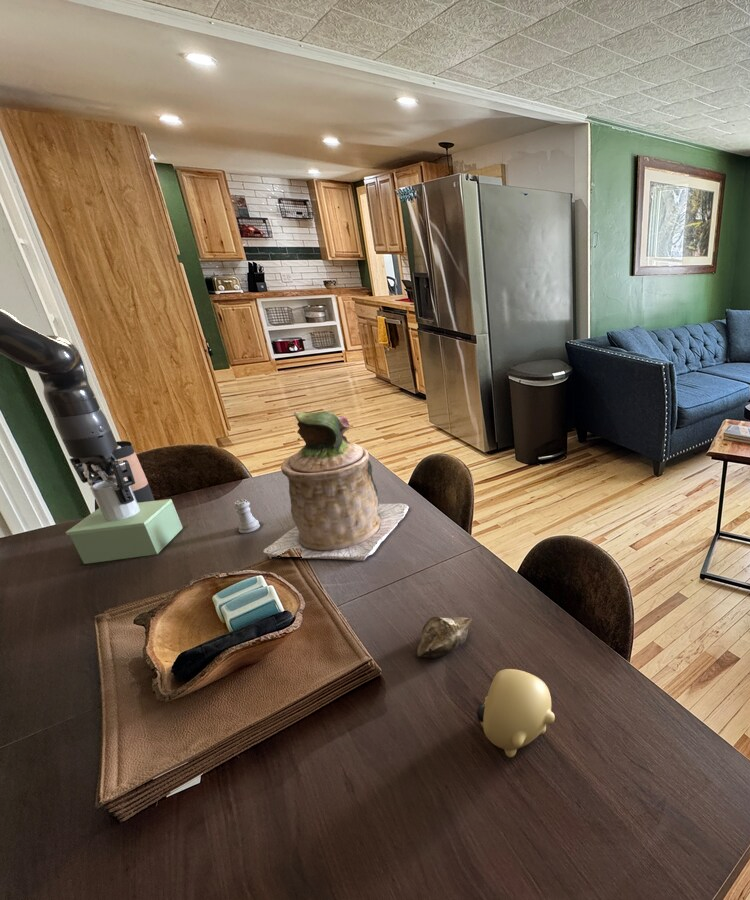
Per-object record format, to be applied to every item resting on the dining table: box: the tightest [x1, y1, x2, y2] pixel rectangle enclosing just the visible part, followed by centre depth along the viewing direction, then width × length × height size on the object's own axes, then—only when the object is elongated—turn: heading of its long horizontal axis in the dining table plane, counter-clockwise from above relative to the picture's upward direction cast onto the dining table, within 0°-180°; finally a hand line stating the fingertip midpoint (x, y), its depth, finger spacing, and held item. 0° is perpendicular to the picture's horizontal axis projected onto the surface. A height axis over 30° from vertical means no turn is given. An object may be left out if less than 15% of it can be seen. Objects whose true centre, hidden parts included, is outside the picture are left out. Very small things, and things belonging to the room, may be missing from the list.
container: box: [69, 501, 184, 565], centre depth 110 cm, size 14×12×8 cm
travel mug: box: [110, 440, 156, 503], centre depth 120 cm, size 8×8×20 cm
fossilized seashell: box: [416, 616, 473, 659], centre depth 83 cm, size 8×7×10 cm
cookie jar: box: [263, 410, 410, 562], centre depth 111 cm, size 25×25×32 cm
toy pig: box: [476, 668, 556, 758], centre depth 67 cm, size 10×12×11 cm
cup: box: [89, 479, 140, 521], centre depth 107 cm, size 6×6×8 cm
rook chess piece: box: [233, 498, 261, 534], centre depth 117 cm, size 4×4×8 cm
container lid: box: [65, 498, 173, 536], centre depth 109 cm, size 14×12×1 cm
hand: (116, 500), depth 107 cm, fingers open, 6 cm apart
